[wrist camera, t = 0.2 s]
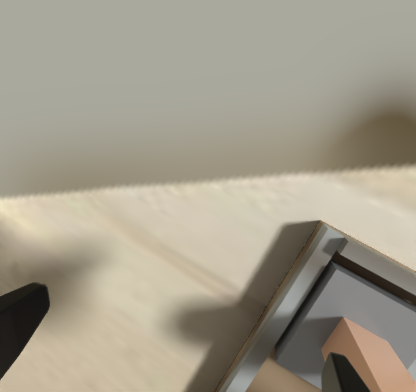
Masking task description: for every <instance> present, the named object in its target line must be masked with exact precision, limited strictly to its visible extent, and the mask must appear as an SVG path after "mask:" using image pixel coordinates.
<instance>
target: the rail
mask: <svg viewBox="0 0 416 392" xmlns="http://www.w3.org/2000/svg"><path fill="white" fill-rule="evenodd" d="M330 259H331V260H332V261H334V262H336V263H338V264H340V265H341V266H343V267H345V268H347V269H349V270H351V271H352V272H354V273H356V274H358V275H360V276H361V277H363V278H365V279H367V280H369V281H371V282H372V283H374V284H376V285H378V286H380V287H382V288H383V289H385V290H387V291H389V292H391V293H392V294H394V295H396V296H398V297H400V298H402V299H403V300H405V301H407V302H409V303H411V304H412V305H414V306H416V271H414V270H412V269H410V268H408V267H406V266H405V265H403V264H401V263H399V262H397V261H395V260H393V259H392V258H390V257H388V256H386V255H384V254H382V253H380V252H379V251H377V250H375V249H373V248H371V247H369V246H367V245H366V244H364V243H362V242H360V241H358V240H356V239H354V238H353V237H351V236H349V235H347V234H345V233H343V232H341V231H339V230H338V229H336V228H334V227H332V226H330V225H328V224H326V223H325V222H323V221H321V220H320V222H319V223H318V225H317V227H316V228H315V230H314V231H313V233H312V235H311V236H310V238H309V240H308V241H307V243H306V244H305V246H304V248H303V249H302V251H301V253H300V254H299V256H298V257H297V259H296V261H295V262H294V264H293V265H292V267H291V269H290V270H289V272H288V274H287V275H286V277H285V278H284V280H283V282H282V283H281V285H280V287H279V288H278V290H277V291H276V293H275V295H274V296H273V298H272V299H271V301H270V303H269V304H268V306H267V308H266V309H265V311H264V312H263V314H262V316H261V317H260V319H259V320H258V322H257V324H256V325H255V327H254V329H253V330H252V332H251V333H250V335H249V337H248V338H247V340H246V342H245V343H244V345H243V346H242V348H241V350H240V351H239V353H238V354H237V356H236V358H235V359H234V361H233V363H232V364H231V366H230V367H229V369H228V371H227V372H226V374H225V375H224V377H223V379H222V380H221V382H220V384H219V385H218V387H217V388H216V390H215V392H322V390H321V389H319V388H318V387H316V386H314V385H313V384H311V383H309V382H307V381H306V380H304V379H302V378H301V377H299V376H297V375H296V374H294V373H292V372H291V371H289V370H287V369H286V368H284V367H282V366H281V365H279V364H277V363H276V359H275V345H276V343H277V341H278V340H279V338H280V337H281V335H282V334H283V332H284V331H285V329H286V327H287V326H288V324H289V323H290V321H291V320H292V318H293V317H294V315H295V314H296V312H297V310H298V309H299V307H300V306H301V304H302V303H303V301H304V300H305V298H306V296H307V295H308V293H309V292H310V290H311V289H312V287H313V286H314V284H315V282H316V281H317V279H318V278H319V276H320V275H321V273H322V272H323V270H324V268H325V267H326V265H327V264H328V262H329V261H330ZM407 371H408V372H409V374H410V375H411V376H412V378H413V379H414V381H415V382H416V359H415V360H414V362H413V363H412V364H411V366H410V367H409V368H408V370H407Z"/></svg>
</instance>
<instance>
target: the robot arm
mask: <svg viewBox="0 0 416 392" xmlns="http://www.w3.org/2000/svg"><path fill="white" fill-rule="evenodd" d="M49 307H50V300H49V293H48V287H47V286H46V285H45V284H41V283H37V282H34V283H31V284H28V285H26V286H23V287H21V288H19V289H16V290H14V291H11V292H9V293H7V294H4V295H2V296H0V380H1V378H2V377H3V376H4V374H5V373H6V372H7V371H8V369H9V368H10V367H11V365H12V364H13V363H14V362H15V360H16V359H17V357H18V356H19V355H20V353H21V352H22V350H23V349H24V348H25V346H26V344H27V343H28V341H29V340H30V338H31V337H32V335H33V334H34V332H35V330H36V329H37V327H38V326H39V324H40V323H41V321H42V320H43V318H44V316H45V315H46V313H47V312H48V310H49ZM321 386H322V392H371V391H370V390H369V388H368V387H367V385H366V384H365V383H364V381H363V380H362V378H361V377H360V376H359V374H358V373H357V371H356V370H355V368H354V367H353V366H352V364H351V363H350V361H349V360H348V359H347V357H346V356H345V355H343V354H339V353H334V352H330V353H329V354H328V356H327V359H326V362H325V364H324V367H323V370H322V375H321Z"/></svg>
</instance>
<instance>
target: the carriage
mask: <svg viewBox="0 0 416 392" xmlns="http://www.w3.org/2000/svg"><path fill="white" fill-rule="evenodd" d="M330 352H334V353H339V354H343V355H345V356H346V357H347V359H348V360H349V361H350V363H351V364H352V366H353V367H354V368H355V370H356V371H357V373H358V374H359V376H360V377H361V378H362V380H363V381H364V383H365V384H366V385H367V387H368V388H369V390H370V391H371V392H416V382H415V381H414V379H413V378H412V376H411V375H410V374H409V372H408V371H407V370H408V368H409V367H410V366H411V364H412V363H413V362H414V360H415V359H416V306H414V305H412V304H411V303H409V302H407V301H405V300H403V299H402V298H400V297H398V296H396V295H394V294H392V293H391V292H389V291H387V290H385V289H383V288H382V287H380V286H378V285H376V284H374V283H372V282H371V281H369V280H367V279H365V278H363V277H361V276H360V275H358V274H356V273H354V272H352V271H351V270H349V269H347V268H345V267H343V266H341V265H340V264H338V263H336V262H334V261H332V260H331V259H330V261H329V262H328V264H327V265H326V267H325V268H324V270H323V272H322V273H321V275H320V276H319V278H318V279H317V281H316V282H315V284H314V286H313V287H312V289H311V290H310V292H309V293H308V295H307V296H306V298H305V300H304V301H303V303H302V304H301V306H300V307H299V309H298V310H297V312H296V314H295V315H294V317H293V318H292V320H291V321H290V323H289V324H288V326H287V327H286V329H285V331H284V332H283V334H282V335H281V337H280V338H279V340H278V341H277V343H276V345H275V359H276V363H277V364H279V365H281V366H282V367H284V368H286V369H287V370H289V371H291V372H292V373H294V374H296V375H297V376H299V377H301V378H302V379H304V380H306V381H307V382H309V383H311V384H313V385H314V386H316V387H318V388H319V389H321V390H322V386H321V375H322V370H323V367H324V364H325V362H326V359H327V356H328V354H329V353H330Z"/></svg>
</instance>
